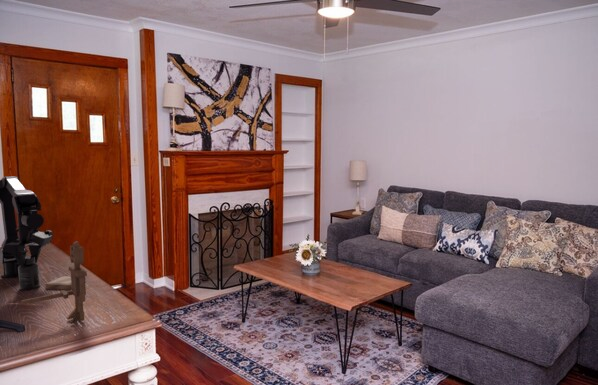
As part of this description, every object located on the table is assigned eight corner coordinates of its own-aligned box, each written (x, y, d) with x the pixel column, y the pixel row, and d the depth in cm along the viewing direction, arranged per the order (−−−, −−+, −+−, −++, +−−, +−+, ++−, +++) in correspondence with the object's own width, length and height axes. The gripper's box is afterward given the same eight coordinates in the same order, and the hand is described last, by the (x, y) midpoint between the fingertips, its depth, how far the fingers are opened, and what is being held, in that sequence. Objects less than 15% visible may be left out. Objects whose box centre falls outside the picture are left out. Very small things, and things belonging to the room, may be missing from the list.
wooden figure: (22, 324, 134) (16, 244, 131) (84, 310, 146) (80, 237, 143) (30, 340, 123) (25, 253, 121) (97, 323, 135) (93, 244, 132)
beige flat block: (45, 290, 167) (45, 283, 167) (62, 282, 177) (62, 275, 177) (69, 291, 166) (69, 284, 166) (85, 283, 176) (85, 276, 176)
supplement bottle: (44, 285, 171) (41, 256, 169) (27, 291, 165) (24, 260, 163) (32, 283, 174) (30, 254, 172) (15, 288, 167) (13, 258, 166)
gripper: (28, 230, 156) (31, 272, 158) (62, 221, 175) (64, 259, 177) (0, 229, 158) (3, 271, 159) (36, 221, 176) (38, 258, 178)
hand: (29, 265), depth 168 cm, fingers open, 6 cm apart
